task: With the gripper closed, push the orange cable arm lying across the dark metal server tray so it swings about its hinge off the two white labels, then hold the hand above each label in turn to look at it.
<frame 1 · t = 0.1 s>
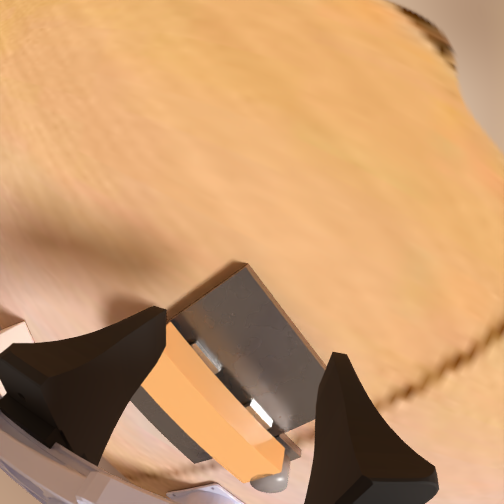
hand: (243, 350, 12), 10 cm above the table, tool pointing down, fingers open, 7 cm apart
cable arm: (215, 420, 22), point 3 cm above the table, hinge at 0.0°
server tray: (216, 385, 25), on the table
milk carton: (26, 349, 30), on the table
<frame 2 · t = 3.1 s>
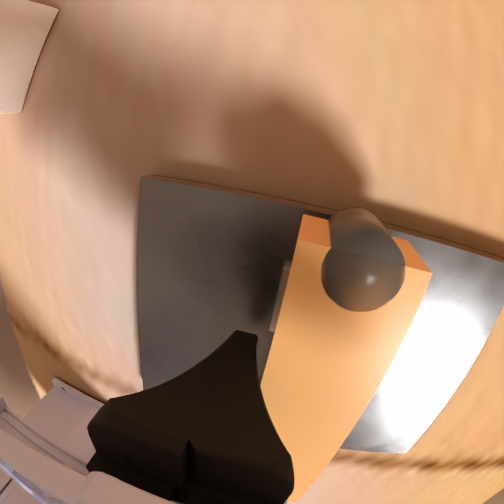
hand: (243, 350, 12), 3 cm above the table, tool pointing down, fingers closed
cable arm: (297, 416, 12), point 4 cm above the table, hinge at -0.4°, touching gripper
server tray: (310, 347, 15), on the table
milk carton: (17, 54, 13), on the table
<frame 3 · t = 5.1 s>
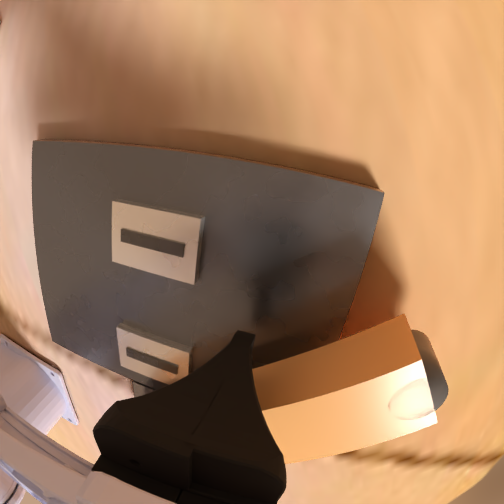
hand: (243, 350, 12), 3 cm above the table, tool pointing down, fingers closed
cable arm: (244, 422, 13), point 3 cm above the table, hinge at -50.6°, touching gripper
server tray: (163, 286, 16), on the table
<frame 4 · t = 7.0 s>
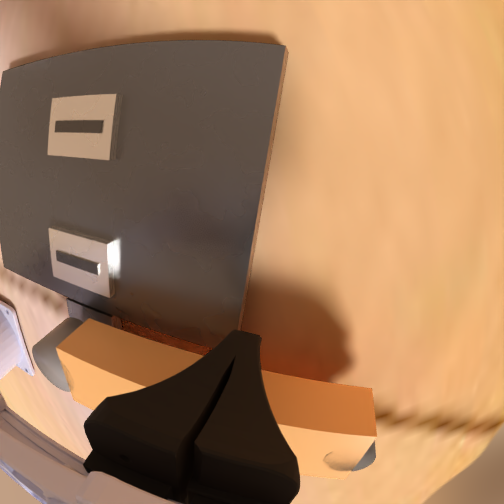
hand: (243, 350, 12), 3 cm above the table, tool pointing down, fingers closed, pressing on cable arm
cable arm: (187, 402, 14), point 3 cm above the table, hinge at -88.0°, touching gripper
server tray: (92, 182, 14), on the table
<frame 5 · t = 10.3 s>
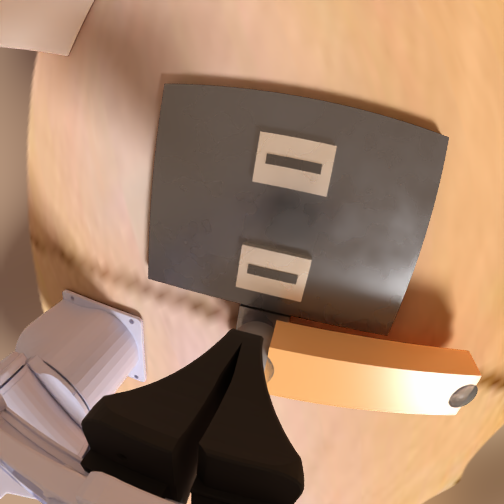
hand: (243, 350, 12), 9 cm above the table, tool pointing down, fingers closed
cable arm: (363, 373, 19), point 4 cm above the table, hinge at -88.3°
server tray: (286, 208, 20), on the table
milk carton: (64, 17, 17), on the table
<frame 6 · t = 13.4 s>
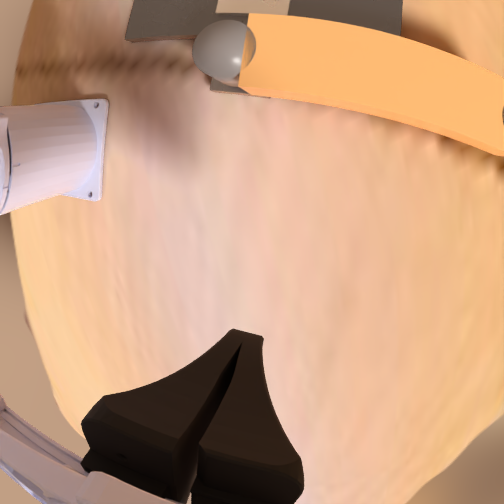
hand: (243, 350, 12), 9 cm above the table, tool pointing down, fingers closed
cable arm: (378, 75, 13), point 4 cm above the table, hinge at -88.3°
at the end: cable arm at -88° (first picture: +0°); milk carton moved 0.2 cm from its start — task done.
